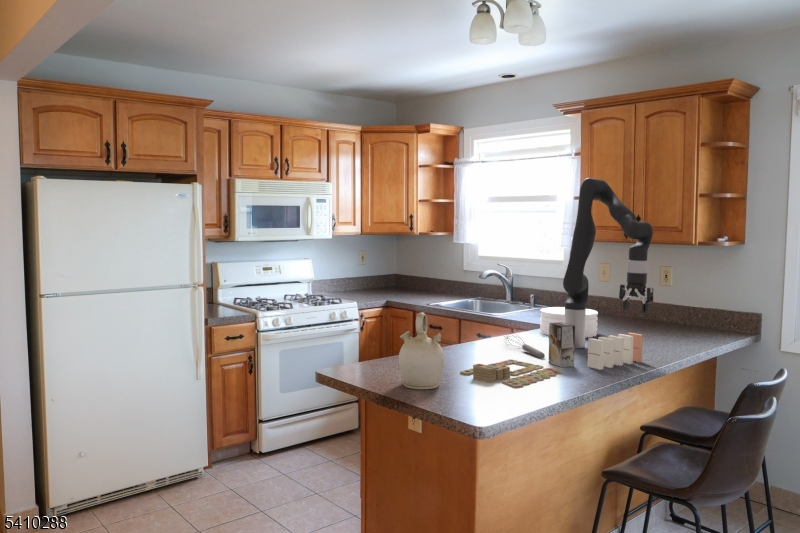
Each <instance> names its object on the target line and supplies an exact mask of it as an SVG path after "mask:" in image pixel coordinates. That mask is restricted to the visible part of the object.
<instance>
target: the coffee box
mask: <svg viewBox="0 0 800 533" xmlns="http://www.w3.org/2000/svg"><path fill="white" fill-rule="evenodd" d="M575 350H576V348H575V325H571V324H567V323H563V322H556V323H549V335H548V364H551V365H554V366H556V367H559V368H569V367H574V366H575Z"/></svg>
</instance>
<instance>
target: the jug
mask: <svg viewBox="0 0 800 533" xmlns="http://www.w3.org/2000/svg"><path fill="white" fill-rule="evenodd" d="M415 318H416V319H415V330H416V334H417V335H416V336H414V337H412V336H411V334H410V331H409V330H407V331H405V332H404V333H403V334H401V335H400V336H399V338H400V339H401V340H402V341H404V342H403V344H402V346H401V348H400V350H399V353H398V365H399V370H400V375H401V380H402V384H403V386H404V388H407V389H411V390H416V391H417V390H422V391H423V390H434V389H437V388H439V386H440V384H441V383H440V382H441V380H442V376H443V371H444V370H443V369H444V365H445V355H444V351H443V348H442V346H441V345H440V344H439V343H440V342H441V339H442V338H441V337H442V335H441V333H437V334H436V335H433V337H429V336H428V335H427V333H428V316H427V315H426V313H425V312H421V311H420V312H419V313H417V314H416V316H415Z"/></svg>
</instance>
